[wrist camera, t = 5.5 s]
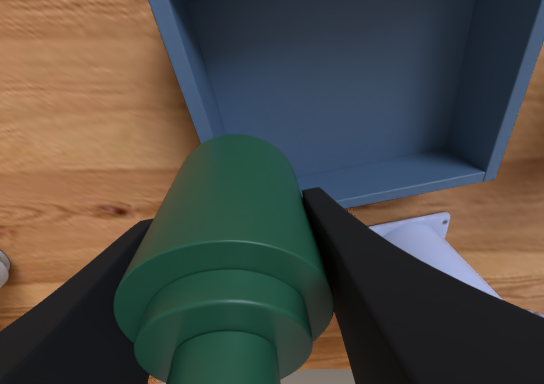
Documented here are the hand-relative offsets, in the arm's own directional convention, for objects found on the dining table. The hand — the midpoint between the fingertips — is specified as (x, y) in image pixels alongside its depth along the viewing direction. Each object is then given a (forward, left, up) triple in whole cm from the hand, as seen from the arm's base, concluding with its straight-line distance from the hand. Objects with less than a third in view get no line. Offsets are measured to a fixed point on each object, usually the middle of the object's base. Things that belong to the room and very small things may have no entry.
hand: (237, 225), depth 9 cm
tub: (+2, -7, -10) cm, 13 cm away
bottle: (0, 0, -2) cm, 2 cm away
